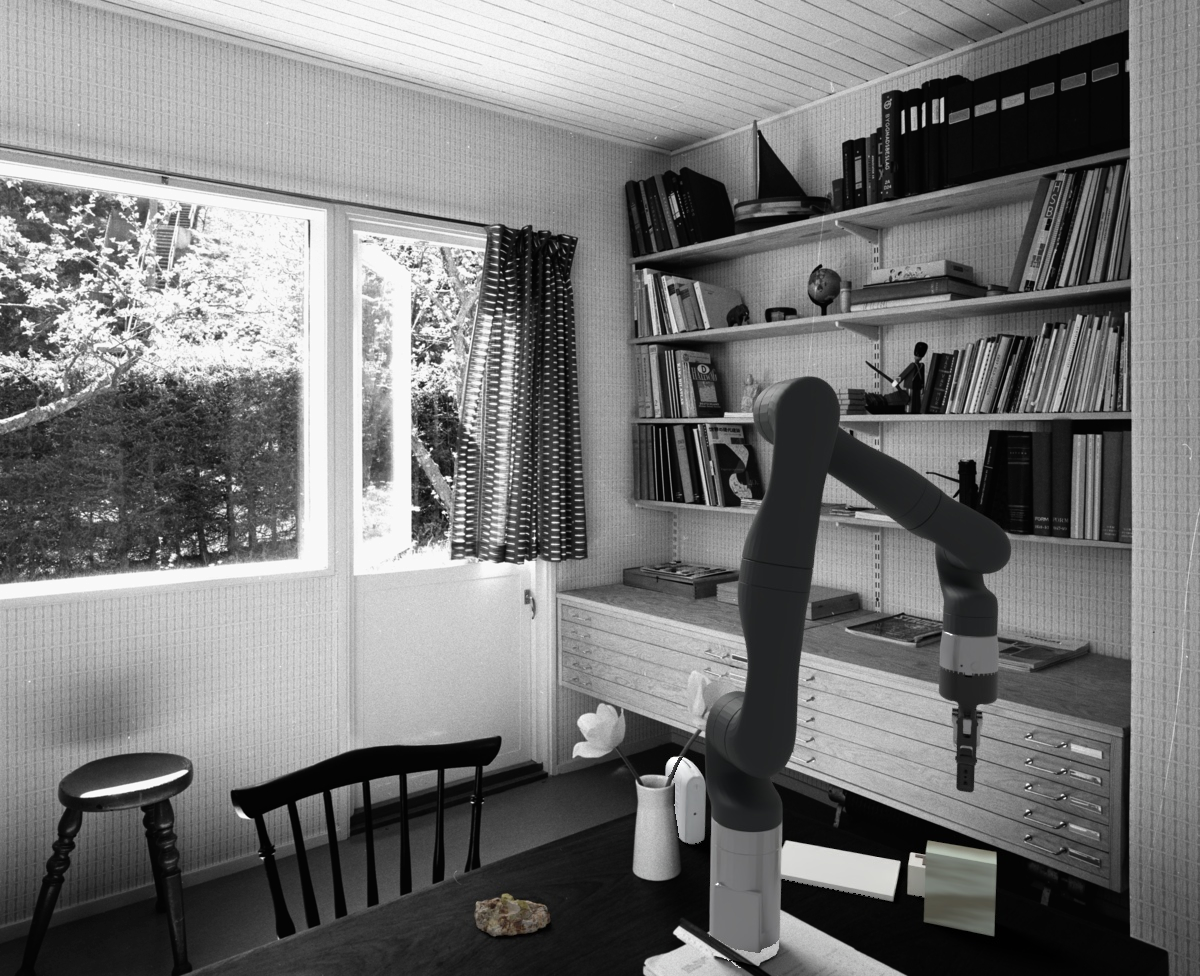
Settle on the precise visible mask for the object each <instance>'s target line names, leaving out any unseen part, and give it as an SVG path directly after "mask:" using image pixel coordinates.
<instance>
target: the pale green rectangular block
mask: <svg viewBox="0 0 1200 976" xmlns="http://www.w3.org/2000/svg"><path fill="white" fill-rule="evenodd" d="M925 855H926V865H925V897H924V899H923V900H924V901H923V903H924V904H923V907H924V908H923V909H924V910H923V922H924V923H928V924H933V925H937V926H941V927H942V926H943V927H946V928H952V929H957V930H960V931H961V930H962V931H968V932H972V933H977V934H982V935H986V936H991V937H995V923H996V922H995V920H996V919H995V918H996V917H995V916H996V889H997V865H998V864H997V851H991V850H986V849H979V848H974V847H968V846H963V845H956V844H950V843H945V842H944V843H943V842H940V841H939V842H937V841H932V840H927V842H926V848H925Z"/></svg>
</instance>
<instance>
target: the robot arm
mask: <svg viewBox="0 0 1200 976" xmlns="http://www.w3.org/2000/svg"><path fill="white" fill-rule="evenodd" d="M752 416H753V417H752V418H753V422H754V425H755V428H756V430H757V432H758V433H759V435H760V436H761V437H762V439H763V440H764V441H766V442H767V443H769V444H770V445H772V447H773V448H772V457H771V467H770V474H769V479H768V482H767V487H766V490H765V492H764V493H765V494H764V495H763V498H762V500H761V503H760V505H759V507H758V509H757V511H756V514H755V516H754V518H753V520H752V521H751V525H750V527H749V529H748V532H747V536H746V538H745V541H744V545H743V549H742V553H741V554H742V555H741V560H740V567H739V568H740V569H739V574H738V575H739V576H738V580H737V581H738V583H737V584H738V585H737V605H738V606H737V607H738V613H739V619H740V623H741V629H742V632H743V636H744V637H743V639H744V642H745V650H746V657H747V659H746V661H747V670H746V671H747V672H746V680H745V688H744V691H743V690H733V691H729V692H727V693H725V694H723V695H722V696H720V697H719V698H718V699H717V700H715V702H714V703H713V705H712V707H710V710H709V713H708V715H707V718H706V723H705V731H704V761H705V762H704V763H705V784H706V792H707V795H708V798H709V801H710V806H711V814H710V815H711V822H710V823H711V829H710V830H711V832H710V834H711V835H710V873H709V874H710V876H709V877H710V879H709V880H710V881H709V882H710V884H709V885H710V886H709V935H710V934H711V935H712V936H713V937H714V938H716V939H718V940H720V941H721V942H723V943H724V944H726V945H728V946H730V947H731V948H734V949H735V950H737V949H738V950H744V951H748V952H755V953H760V952H761V950H762V949H764V948H767V947H770V946H772V945H773V944H776V942H777V941H778V940H779V938H780V939H781V898H782V897H781V895H782V894H781V892H782V890H781V889H782V879H781V854H782V848H783V846H782V843H783V802H782V801H783V800H782V799H781V796H780V794H779V792H778V790H777V789H776V788H775V785H774V784H773V781H772V777H775V776H777V775H778V774H779V773H780V772H781V771H782V770H784V768H785V767H786V766H787V764H788V762H789V761H790V760H791V757H792V754H793V752H794V750H795V745H796V738H797V728H798V727H797V726H798V706H799V705H798V703H799V679H800V677H799V676H800V665H801V656H802V649H803V643H804V642H803V641H804V632H805V623H806V619H807V618H806V616H807V611H808V604H809V600H810V594H811V587H812V582H813V581H812V579H813V574H814V567H815V557H816V555H815V554H816V547H817V540H818V533H819V529H820V528H819V526H820V521H821V511H822V502H823V495H824V489H825V484H826V480H827V475H829V476H831V477H832V478H834V479H835V480H837V481H838V482H840V483H842V484H843V485H844V486H846V487H848V488H849V489H850V490H852V491H853V492H855V493H856V494H857V495H859V496H860V497H862V498H863V499H864V500H865V501H867V502H869V504H871V505H873V506H874V507H875V508H877V509H878V510H880V512H882V513H883V514H885V515H886V516H887V517H889V518H890V519H892V520H893V521H894V522H896V523H897V524H898V525H900V526H901V527H902V528H904V529H905V530H906V531H908V532H910V533H911V534H912V535H915V536H917V537H919V538H922V539H925V540H927V541H929V542H932V543H933V544H935V546H934V558H935V563H936V564H935V565H936V571H937V576H938V580H939V587H940V589H941V592H942V593H941V594H942V598H943V607H942V608H943V609H942V611H943V612H942V630H941V631H942V632H941V637H940V638H941V639H940V644H939V669H938V694H939V696H940V697H942V698H943V699H945V700H947V701H949V702H954V703H957V707H952V709H951V726H952V727H953V728H952V729H953V730H952V745H953V747H955V749H956V755H955V756H954V760H955V761H956V762H955V763H956V780H955V781H956V782H955V783H956V785H955V786H956V790H958V791H959V792H964V793H973V792H974V791H975V772H976V771H975V770H976V769H975V767H976V765H977V763H978V758H977V750H979V749H980V747H981V730H982V729H983V724H984V723H983V719H984V717H983V710H978V709H977V708H978V706H979V705H984V706H986V705H990V704H994V703H995V702H996V701H997V700H998V685H999V661H1000V660H999V658H1000V655H999V654H1000V653H999V652H1000V651H999V650H1000V649H999V639H998V625H999V623H998V621H999V619H998V618H999V602H998V598H997V596H996V595H995V593H993V592H992V591H991V590H990V589H989V588H987V586H986V585H985V581H984V575H989V574H994V573H997V572H999V571H1001V570H1002V569H1004V568H1005V567H1006V565H1007V564H1008V563H1009V561H1010V558H1011V555H1012V545H1011V541H1010V539H1009V536H1008V534H1007V533H1006V532H1005V531H1004V529H1003V528H1001V526H1000V525H998V524H997V523H996V522H994V521H993V520H992V519H990V518H989V517H987V516H985V515H984V514H982V513H980V512H978V511H976V510H975V509H973V508H971V507H969V505H968V506H967V505H965V504H963V503H962V502H961V501H960V502H959V501H958V500H956V499H954V498H952V497H950V496H949V495H948V494H947V493H945V491H943V490H942V489H941V488H940V487H939V486H937V485H936V484H934V483H933V482H932V481H930V480H929V479H927V478H926V477H925V476H924V475H922V474H921V473H920V472H918V471H916V469H914V468H912V467H910V466H909V465H908V464H906V463H903V462H902V461H900V460H898V459H896V458H894V457H892V456H891V455H888V454H886V453H884V452H883V451H880V450H879V449H877V448H874V447H872V446H870V445H869V444H866V443H865V442H863V441H861V440H860V439H858V438H857V437H856V436H853V435H852V434H850V433H849V432H848V431H846V430H845V429H843V428H842V427H841V426H840V421H841V406H840V400H839V397H838V394H836V392H835V390H834V388H833V386H831V384H830V383H829V382H827V381H826V380H824V379H822V378H821V377H817V376H809V375H808V376H807V375H806V376H800V377H799V376H798V377H794V378H790V379H785V380H780V381H777V382H775V383H773V384H771V385H768V386H767V387H766V388H765V389H763V390H762V391H761V392H760V394H759V395H758V396H757V397H756V399H755V401H754V404H753V410H752Z"/></svg>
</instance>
